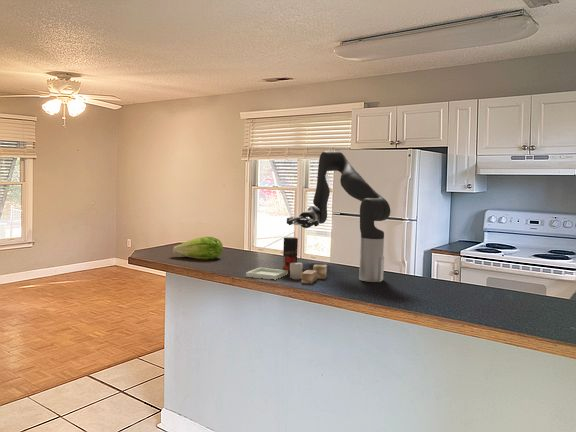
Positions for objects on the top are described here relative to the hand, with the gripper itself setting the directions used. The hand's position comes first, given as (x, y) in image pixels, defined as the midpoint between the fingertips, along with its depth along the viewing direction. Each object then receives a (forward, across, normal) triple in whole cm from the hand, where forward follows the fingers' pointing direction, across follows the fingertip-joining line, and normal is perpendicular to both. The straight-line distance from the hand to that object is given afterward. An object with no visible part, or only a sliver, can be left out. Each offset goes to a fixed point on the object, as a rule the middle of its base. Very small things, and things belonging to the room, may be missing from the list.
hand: (298, 223), depth 213 cm
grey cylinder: (+20, +6, +19) cm, 28 cm away
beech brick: (+24, +12, +19) cm, 33 cm away
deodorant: (+11, 0, +20) cm, 23 cm away
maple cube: (+14, +14, +19) cm, 28 cm away
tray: (+20, -6, +19) cm, 29 cm away
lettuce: (-7, -53, +23) cm, 58 cm away
